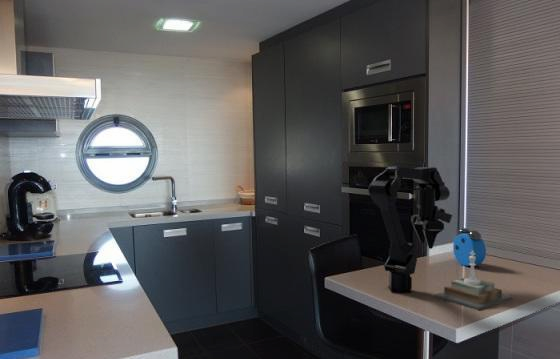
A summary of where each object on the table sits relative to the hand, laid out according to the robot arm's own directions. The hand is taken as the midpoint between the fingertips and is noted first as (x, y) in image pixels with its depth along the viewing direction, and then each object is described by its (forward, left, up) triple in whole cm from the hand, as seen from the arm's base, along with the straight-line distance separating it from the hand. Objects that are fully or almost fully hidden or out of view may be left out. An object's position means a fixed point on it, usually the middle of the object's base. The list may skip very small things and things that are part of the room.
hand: (426, 245), depth 155 cm
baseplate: (+9, -18, -13) cm, 24 cm away
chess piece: (+9, -18, -8) cm, 22 cm away
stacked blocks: (+9, -18, -13) cm, 24 cm away
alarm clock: (+25, +24, -13) cm, 37 cm away
